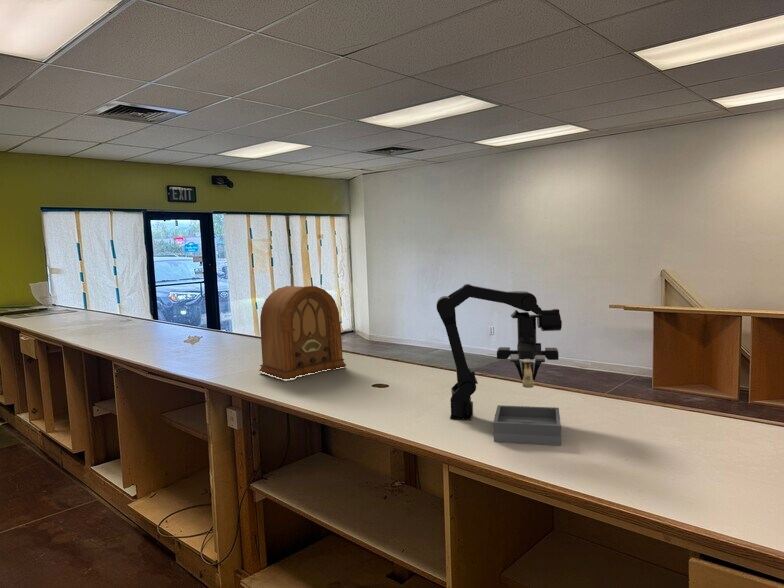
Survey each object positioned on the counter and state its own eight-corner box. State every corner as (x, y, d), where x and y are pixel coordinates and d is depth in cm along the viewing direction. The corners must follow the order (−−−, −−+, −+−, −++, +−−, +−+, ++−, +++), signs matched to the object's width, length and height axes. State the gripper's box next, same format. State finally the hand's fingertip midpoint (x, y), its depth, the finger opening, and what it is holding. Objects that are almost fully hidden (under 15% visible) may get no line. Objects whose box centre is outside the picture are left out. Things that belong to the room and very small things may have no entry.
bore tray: (493, 441, 145) (493, 422, 145) (498, 422, 160) (497, 405, 160) (561, 445, 140) (560, 425, 140) (559, 425, 155) (558, 407, 155)
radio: (285, 382, 222) (279, 289, 219) (259, 374, 239) (253, 288, 236) (346, 367, 244) (341, 283, 241) (318, 361, 261) (313, 282, 258)
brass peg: (522, 387, 164) (521, 362, 163) (522, 384, 167) (522, 360, 166) (533, 387, 163) (533, 363, 162) (533, 385, 166) (533, 360, 165)
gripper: (494, 336, 158) (496, 386, 159) (558, 336, 153) (559, 387, 154) (497, 330, 169) (498, 376, 170) (557, 330, 164) (558, 378, 165)
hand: (527, 380), depth 165 cm, fingers closed on brass peg, 3 cm apart
